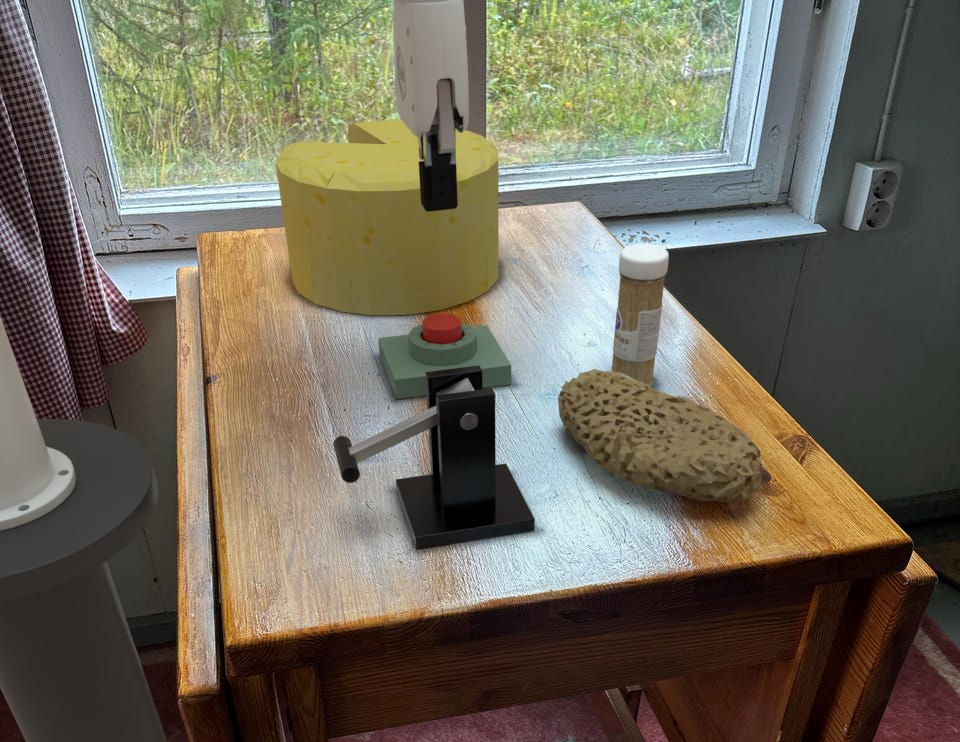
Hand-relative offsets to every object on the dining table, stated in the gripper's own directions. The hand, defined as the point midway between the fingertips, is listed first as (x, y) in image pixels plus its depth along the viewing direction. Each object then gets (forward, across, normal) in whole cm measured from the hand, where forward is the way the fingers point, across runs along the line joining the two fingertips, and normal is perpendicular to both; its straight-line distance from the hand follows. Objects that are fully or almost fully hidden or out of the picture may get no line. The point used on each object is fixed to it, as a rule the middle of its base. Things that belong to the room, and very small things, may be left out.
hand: (439, 207), depth 91 cm
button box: (+16, 0, 0) cm, 17 cm away
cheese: (+17, -28, 0) cm, 32 cm away
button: (+13, 0, 0) cm, 13 cm away
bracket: (+16, +26, -4) cm, 31 cm away
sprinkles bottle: (+17, +8, +18) cm, 26 cm away
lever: (+9, +26, -8) cm, 29 cm away
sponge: (+17, +24, +14) cm, 32 cm away
